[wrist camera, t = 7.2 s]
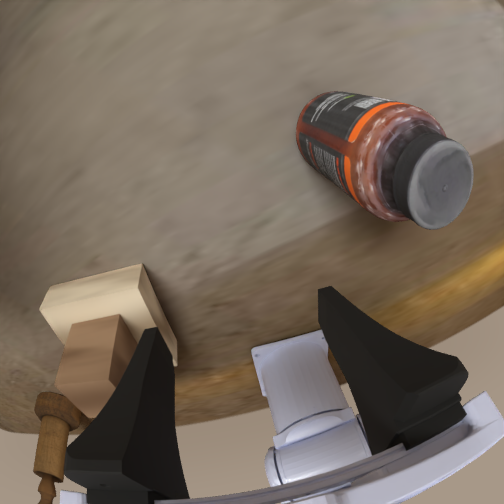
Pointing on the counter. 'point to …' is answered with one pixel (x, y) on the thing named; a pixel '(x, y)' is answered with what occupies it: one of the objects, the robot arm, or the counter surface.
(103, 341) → the walnut block
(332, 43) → the counter surface
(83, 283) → the birch base block
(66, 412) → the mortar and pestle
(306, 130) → the supplement bottle
